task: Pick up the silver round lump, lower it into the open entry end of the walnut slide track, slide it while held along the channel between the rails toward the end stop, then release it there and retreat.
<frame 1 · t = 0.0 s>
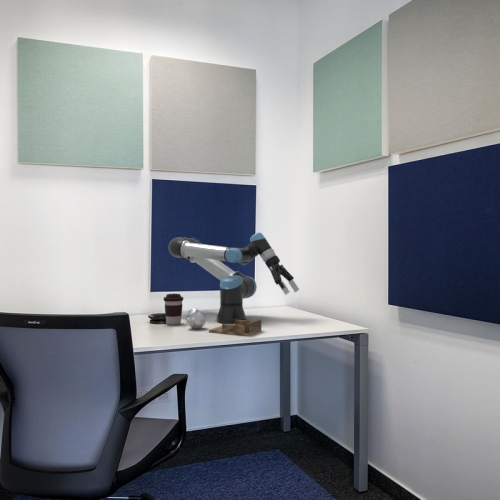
hand: (292, 292, 245), 15 cm above the table, tool tilted 35°, fingers open, 13 cm apart
silver round lump: (196, 329, 225), on the table
slide track: (235, 331, 218), on the table
coffee cup: (173, 324, 239), on the table
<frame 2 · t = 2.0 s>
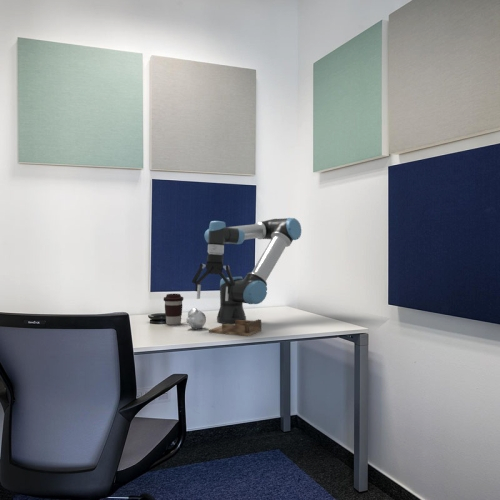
hand: (212, 299, 219), 14 cm above the table, tool pointing down, fingers open, 13 cm apart
nothing on the table moved.
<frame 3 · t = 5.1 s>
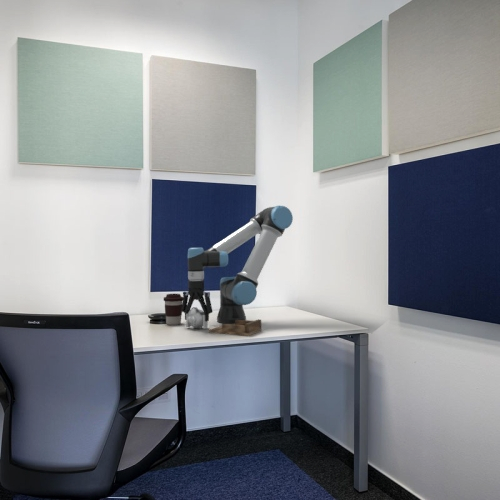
hand: (196, 327, 225), 1 cm above the table, tool pointing down, fingers closed on silver round lump, 9 cm apart
silver round lump: (196, 328, 225), on the table, touching gripper
everything else where it was.
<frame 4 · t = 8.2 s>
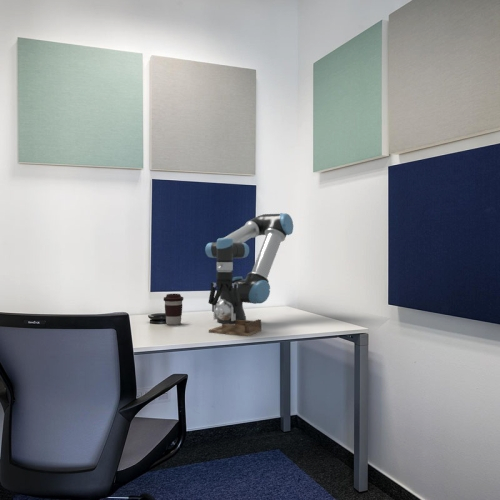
hand: (224, 319, 220), 5 cm above the table, tool pointing down, fingers closed on silver round lump, 9 cm apart
silver round lump: (224, 320, 220), point 5 cm above the table, touching gripper
everything else where it was.
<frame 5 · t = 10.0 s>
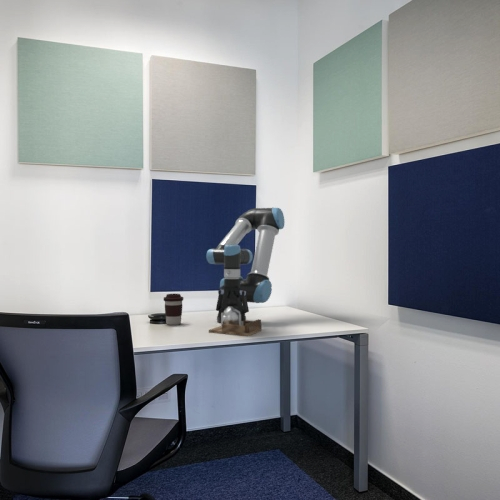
hand: (232, 327, 218), 2 cm above the table, tool pointing down, fingers closed on silver round lump, 9 cm apart
silver round lump: (231, 328, 218), point 2 cm above the table, touching gripper
everything else where it was.
when the fingers open (2 cm above the table, at t = 11.1 s): silver round lump stays where it is, resting on slide track.
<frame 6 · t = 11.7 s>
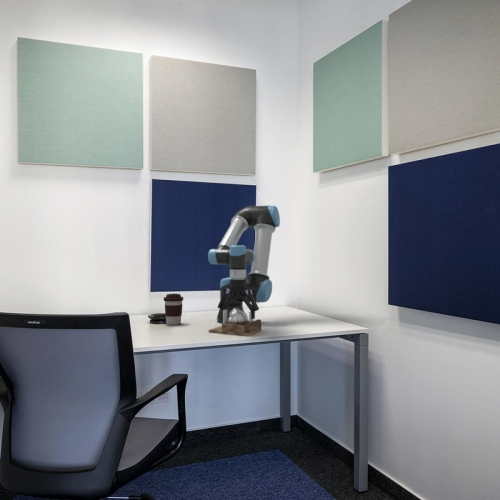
hand: (237, 324, 217), 3 cm above the table, tool pointing down, fingers open, 13 cm apart
silver round lump: (237, 329, 217), point 1 cm above the table, touching slide track
everything else where it was.
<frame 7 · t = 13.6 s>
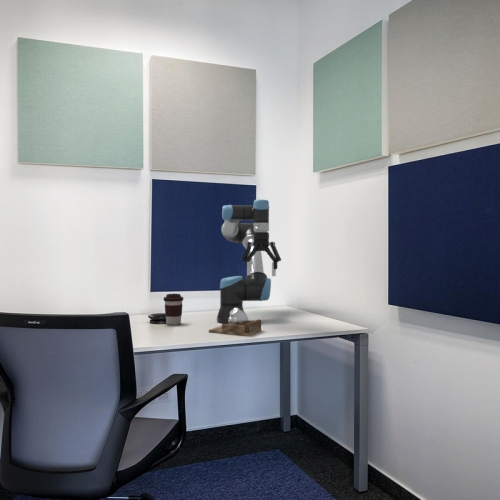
hand: (261, 275, 229), 25 cm above the table, tool pointing down, fingers open, 13 cm apart
nothing on the table moved.
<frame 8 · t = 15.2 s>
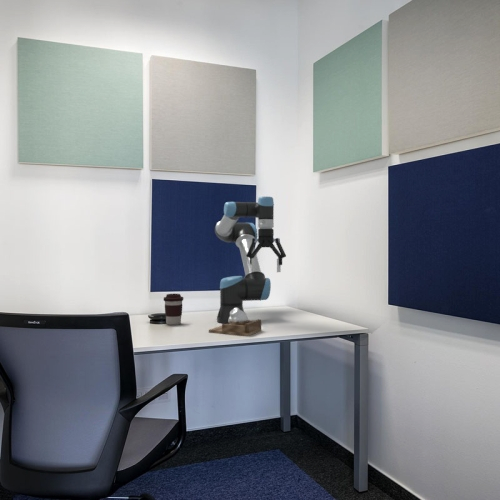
hand: (265, 271, 231), 27 cm above the table, tool pointing down, fingers open, 13 cm apart
nothing on the table moved.
at the end: silver round lump inside the target area on the slide track (2.1 cm from its centre), point 1.0 cm above the slide track's base; silver round lump tilted 0°; the gripper is holding nothing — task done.
